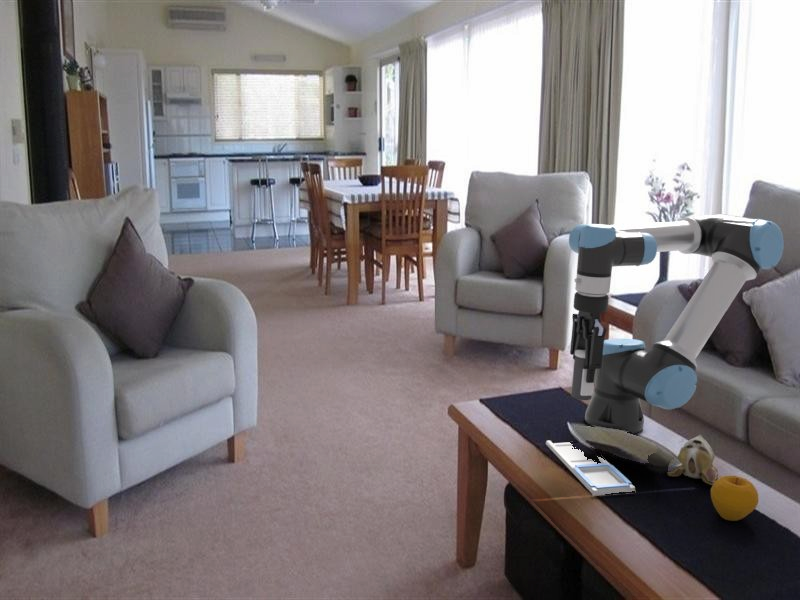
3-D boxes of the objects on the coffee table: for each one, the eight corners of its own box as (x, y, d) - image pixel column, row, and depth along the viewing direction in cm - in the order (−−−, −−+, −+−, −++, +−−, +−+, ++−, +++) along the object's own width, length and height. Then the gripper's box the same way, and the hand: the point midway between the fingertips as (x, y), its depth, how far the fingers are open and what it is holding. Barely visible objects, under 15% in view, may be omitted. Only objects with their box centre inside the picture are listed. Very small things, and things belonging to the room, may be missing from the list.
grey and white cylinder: (586, 392, 175) (591, 349, 172) (595, 400, 170) (599, 355, 168) (567, 393, 174) (571, 349, 172) (575, 400, 169) (580, 355, 167)
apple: (742, 535, 144) (749, 492, 142) (698, 516, 150) (704, 476, 148) (762, 520, 149) (768, 479, 147) (719, 503, 156) (724, 463, 154)
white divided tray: (582, 443, 184) (583, 437, 184) (635, 492, 159) (636, 485, 159) (545, 445, 182) (545, 439, 182) (592, 496, 157) (593, 489, 157)
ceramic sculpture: (725, 433, 171) (719, 460, 158) (721, 466, 173) (714, 496, 160) (677, 424, 175) (667, 450, 163) (673, 456, 178) (663, 485, 165)
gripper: (561, 285, 174) (552, 379, 179) (592, 301, 157) (581, 405, 163) (591, 285, 176) (582, 378, 181) (625, 301, 159) (613, 404, 164)
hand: (582, 390), depth 172 cm, fingers closed on grey and white cylinder, 5 cm apart
